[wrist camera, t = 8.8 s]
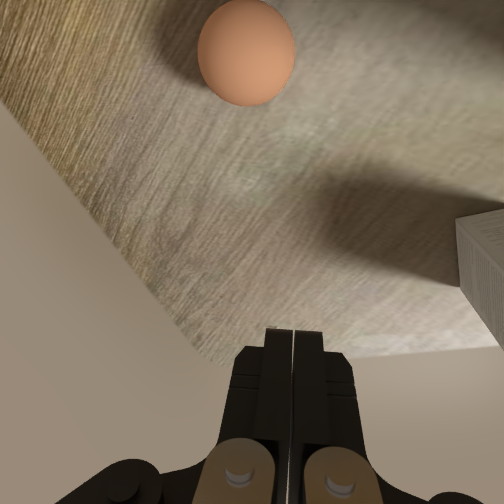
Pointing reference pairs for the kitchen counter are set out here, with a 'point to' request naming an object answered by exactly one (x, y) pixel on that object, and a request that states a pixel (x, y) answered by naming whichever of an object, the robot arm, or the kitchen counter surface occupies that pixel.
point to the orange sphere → (246, 52)
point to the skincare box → (483, 266)
